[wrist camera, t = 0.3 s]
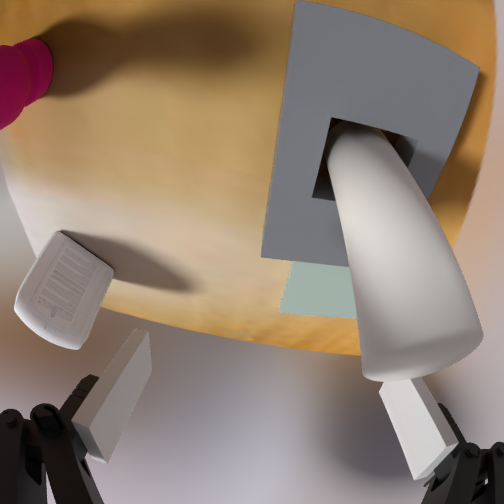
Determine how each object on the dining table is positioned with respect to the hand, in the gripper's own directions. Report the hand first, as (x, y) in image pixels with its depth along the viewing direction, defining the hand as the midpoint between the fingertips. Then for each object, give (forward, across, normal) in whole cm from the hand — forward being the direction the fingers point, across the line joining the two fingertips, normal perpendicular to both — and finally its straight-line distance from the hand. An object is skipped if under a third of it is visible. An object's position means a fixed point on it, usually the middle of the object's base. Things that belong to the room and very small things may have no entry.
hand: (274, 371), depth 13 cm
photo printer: (+18, -24, -3) cm, 30 cm away
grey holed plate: (+10, +5, +12) cm, 16 cm away
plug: (+10, +5, +12) cm, 16 cm away
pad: (+19, +8, -2) cm, 21 cm away
